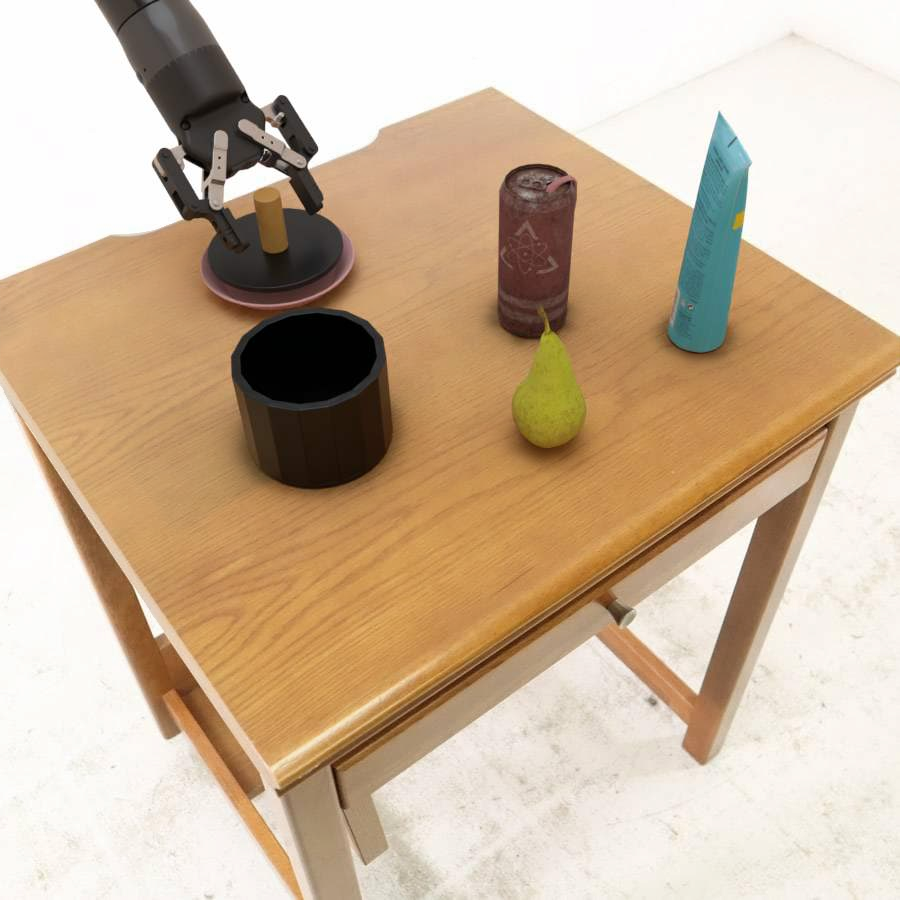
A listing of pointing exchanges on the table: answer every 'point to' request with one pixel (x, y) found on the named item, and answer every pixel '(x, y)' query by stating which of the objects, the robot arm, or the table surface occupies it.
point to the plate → (287, 297)
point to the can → (535, 247)
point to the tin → (313, 396)
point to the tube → (712, 245)
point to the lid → (277, 248)
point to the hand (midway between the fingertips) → (281, 230)
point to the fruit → (549, 395)
